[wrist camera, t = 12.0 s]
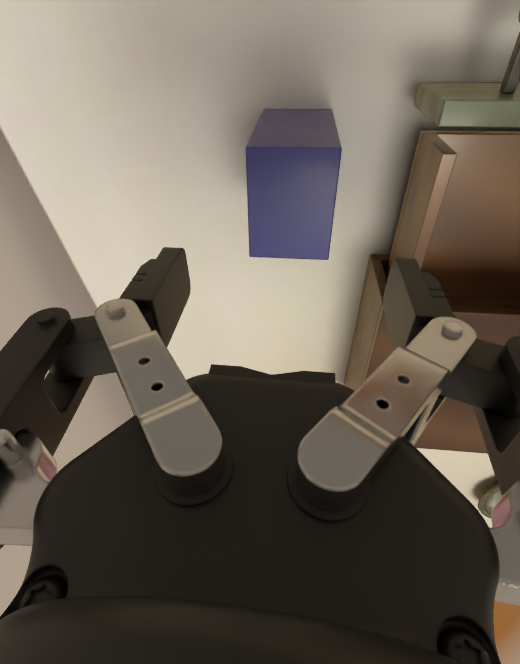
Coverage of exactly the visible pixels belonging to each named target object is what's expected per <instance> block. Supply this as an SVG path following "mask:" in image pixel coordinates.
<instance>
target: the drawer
mask: <svg viewBox="0 0 520 664" xmlns="http://www.w3.org/2000/svg"><path fill="white" fill-rule="evenodd" d="M519 22H520V11H519ZM519 79H520V33H519V35H518V38H517V41H516V44H515V47H514V50H513V53H512V56H511V58H510V61H509V64H508V67H507V70H506V73H505V76H504V79H503V81H502V83H419V85H418V89H417V93H416V98H415V102H414V106H415V107H416V108H417V109H418V110H420V111H421V112H422V113H423V114H424V115H425V116H426V117H428V118H429V119H430V120H431V121H432V122H433V123H434V124H436V125H437V126H438V127H515V128H520V83H518V82H519ZM394 258H415V259H416V260H417V262H418V265H419V267H420V269H421V272H429V273H430V274H431V275H433V276H434V277H435V278H436V279H437V280H438V281H439V283H440V285H441V287H442V291H443V292H444V294H445V298H447V300H448V302H449V304H450V305H452V306H473V307H494V308H515V309H520V131H436V130H422V131H420V135H419V139H418V143H417V147H416V151H415V155H414V159H413V163H412V168H411V172H410V176H409V180H408V184H407V188H406V192H405V196H404V200H403V204H402V209H401V213H400V217H399V221H398V225H397V229H396V233H395V237H394V241H393V245H392V250H391V254H390V258H389V262H388V266H387V270H386V274H385V276H386V279H387V280H388V276H389V272H390V268H391V264H392V261H393V259H394Z"/></svg>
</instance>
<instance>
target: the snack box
mask: <svg viewBox="0 0 520 664" xmlns="http://www.w3.org/2000/svg"><path fill="white" fill-rule="evenodd" d="M341 151H342V148H341V144H340V140H339V136H338V132H337V128H336V124H335V120H334V115H333V111H332V109H264V110H263V112H262V114H261V116H260V119H259V121H258V123H257V125H256V127H255V129H254V131H253V133H252V135H251V138H250V140H249V142H248V144H247V146H246V169H247V197H248V226H249V255H250V257H269V258H295V259H321V260H328V257H329V249H330V241H331V232H332V224H333V216H334V208H335V200H336V192H337V183H338V175H339V167H340V159H341Z"/></svg>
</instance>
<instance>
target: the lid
mask: <svg viewBox="0 0 520 664" xmlns="http://www.w3.org/2000/svg"><path fill="white" fill-rule="evenodd" d="M501 497H502V494H501V491H500V488H499V485H496V486H494V487H492V488H491V489H490V490H488V491H487V492H486V493H485V494H484V495H483V496H482V497H481V498H480V500H479V503H478V508H479V510H480V511H481V513H482V514H484V515H485V516H487V517H489V518H491V512H492V508H493V507H494V505H495V504H496V503H497V502H498V501H499V499H500V498H501Z"/></svg>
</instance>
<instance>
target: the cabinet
mask: <svg viewBox="0 0 520 664" xmlns="http://www.w3.org/2000/svg"><path fill="white" fill-rule="evenodd" d="M389 258H390V255H370V258H369V263H368V268H367V273H366V278H365V283H364V288H363V293H362V298H361V302H360V307H359V312H358V317H357V322H356V327H355V332H354V337H353V342H352V347H351V351H350V356H349V361H348V366H347V371H346V376H345V381H344V386H347V387H349V388H351V389H353V390H356V389H357V388H358V387H359V386H360V385H361V384H362V383H363V382H364V381H365V380H366V379H367V378H368V377H369V376H370V375H371V374H372V373H373V372H374V370H375V369H376V368H377V367H378V366H379V365H380V364H381V363H382V362H383V361H384V360H385V359H386V358H387V357H388V356H389V355H390V354H391V353H392V352H393V351H394V350H393V345H392V341H391V337H390V333H389V329H388V325H387V320H386V316H385V312H384V307H383V298H384V292H385V288H386V284H387V279H386V276H385V274H386V270H387V266H388V262H389ZM450 307H451V309H452V311H453V313H454V315H455V317H456V318H457V319H459V320H462V321H464V322H466V323H467V324H469V325H470V326H471V327H472V328H473V329H474V330H475V332H476V338H478V339H481V340H484V341H487V342H491V343H495V344H499V345H503V346H505V344H506V343H507V341H508V340H509V339H510V338H512V337H514V336H520V309H515V308H494V307H473V306H452V305H450ZM414 447H415V448H426V449H438V450H451V451H464V452H476V453H488V452H487V449H486V446H485V443H484V439H483V436H482V433H481V430H480V427H479V424H478V421H477V418H476V415H475V412H474V409H473V406H472V405H469V404H466V403H463V402H460V401H457V400H453V399H450V398H447V397H446V399H445V401H444V402H443V403H442V405H441V406H440V408H439V409H438V411H437V412H436V413H435V415H434V416H433V418H432V419H431V420H430V422H429V423H428V425H427V426H426V427H425V429H424V430H423V432H422V433H421V435H420V437H419V438H418V440H417V442H416V443H415V445H414Z"/></svg>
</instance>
